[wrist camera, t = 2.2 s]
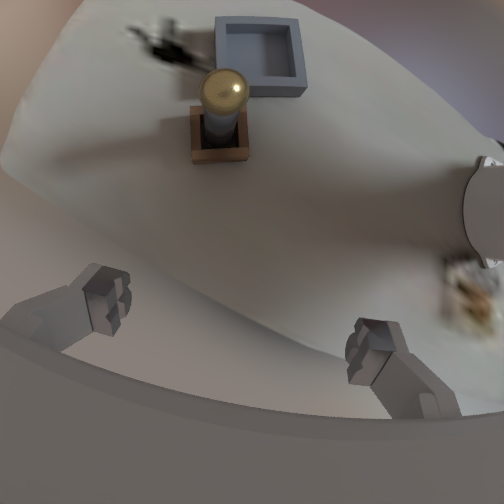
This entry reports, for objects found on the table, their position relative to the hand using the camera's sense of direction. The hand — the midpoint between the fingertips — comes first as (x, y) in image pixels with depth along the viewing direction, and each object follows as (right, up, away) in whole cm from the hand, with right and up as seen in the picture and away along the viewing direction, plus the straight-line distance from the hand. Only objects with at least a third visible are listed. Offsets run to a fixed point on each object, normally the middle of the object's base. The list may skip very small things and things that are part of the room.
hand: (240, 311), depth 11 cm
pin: (-3, +15, +24) cm, 28 cm away
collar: (-3, +15, +24) cm, 28 cm away
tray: (+1, +25, +23) cm, 34 cm away
